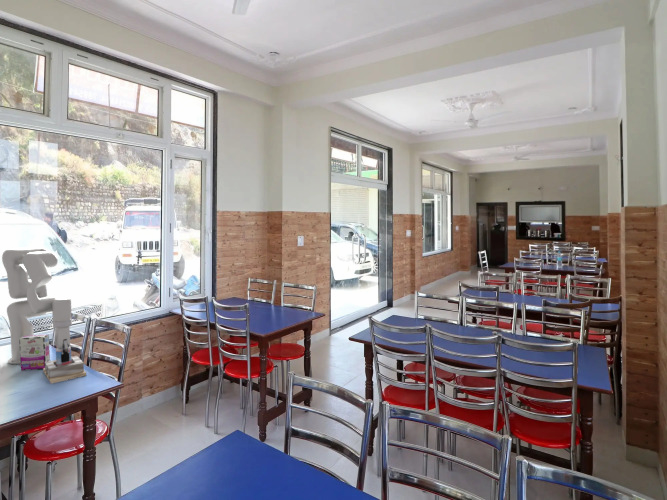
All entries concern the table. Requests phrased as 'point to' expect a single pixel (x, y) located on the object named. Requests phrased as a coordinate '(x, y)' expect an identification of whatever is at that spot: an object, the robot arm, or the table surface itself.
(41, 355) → the candy bar box
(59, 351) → the pill bottle
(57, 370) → the collar block
